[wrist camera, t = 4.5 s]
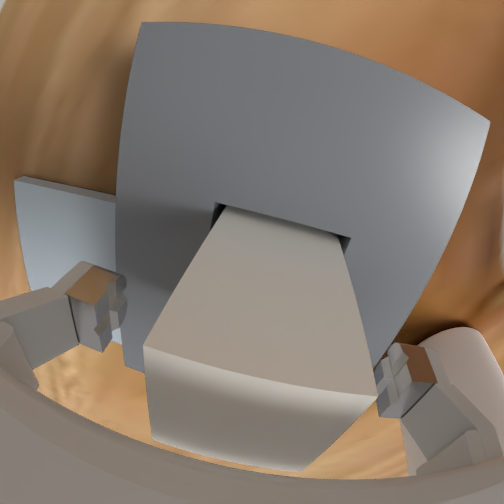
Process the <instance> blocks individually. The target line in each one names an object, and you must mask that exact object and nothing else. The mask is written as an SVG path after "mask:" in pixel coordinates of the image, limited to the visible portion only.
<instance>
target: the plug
mask: <svg viewBox="0 0 504 504" xmlns="http://www.w3.org/2000/svg"><path fill="white" fill-rule="evenodd" d="M143 354H144V369H145V381H146V392H147V401H148V410H149V418H150V426H151V433H152V440H154V441H157V442H160V443H163V444H166V445H169V446H172V447H175V448H179V449H182V450H186V451H189V452H193V453H196V454H200V455H204V456H208V457H212V458H216V459H221V460H225V461H230V462H234V463H240V464H245V465H250V466H256V467H263V468H269V469H277V470H285V471H294V472H301V471H302V470H304V469H305V468H306V467H307V466H308V465H309V464H311V463H312V462H313V461H314V460H315V459H316V458H318V457H319V456H320V455H321V454H322V453H323V452H324V451H325V450H326V449H328V448H329V447H330V446H331V445H332V444H333V443H334V442H335V441H336V440H337V439H338V438H339V437H340V436H341V435H342V434H343V433H344V432H345V431H346V430H347V429H348V428H349V427H350V426H351V425H352V424H353V423H354V422H355V421H356V420H357V419H358V418H359V417H360V416H361V415H362V414H363V413H364V412H365V411H366V409H367V408H368V407H369V406H370V405H371V404H372V403H373V402H374V401H375V399H376V398H377V397H378V393H377V388H376V383H375V378H374V373H373V368H372V363H371V359H370V354H369V350H368V345H367V341H366V337H365V333H364V328H363V324H362V320H361V316H360V312H359V308H358V305H357V301H356V297H355V293H354V290H353V286H352V283H351V279H350V275H349V272H348V269H347V265H346V262H345V258H344V255H343V252H342V249H341V245H340V242H339V239H338V236H337V234H336V233H332V232H329V231H325V230H321V229H318V228H314V227H310V226H307V225H303V224H299V223H296V222H292V221H288V220H284V219H281V218H277V217H273V216H269V215H265V214H261V213H257V212H253V211H249V210H245V209H241V208H237V207H233V206H229V205H227V206H226V207H225V209H224V211H223V212H222V214H221V215H220V217H219V218H218V220H217V221H216V223H215V225H214V226H213V228H212V229H211V231H210V233H209V234H208V236H207V237H206V239H205V241H204V242H203V244H202V245H201V247H200V249H199V250H198V252H197V253H196V255H195V257H194V258H193V260H192V262H191V263H190V265H189V267H188V268H187V270H186V272H185V273H184V275H183V277H182V278H181V280H180V282H179V283H178V285H177V287H176V288H175V290H174V292H173V293H172V295H171V297H170V298H169V300H168V302H167V304H166V305H165V307H164V309H163V310H162V312H161V314H160V316H159V317H158V319H157V321H156V323H155V324H154V326H153V328H152V330H151V331H150V333H149V335H148V337H147V339H146V340H145V342H144V344H143Z"/></svg>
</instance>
